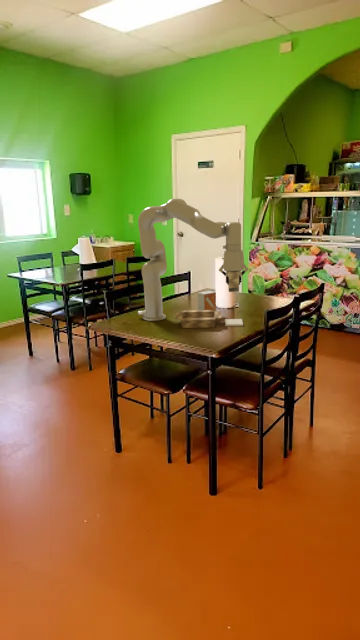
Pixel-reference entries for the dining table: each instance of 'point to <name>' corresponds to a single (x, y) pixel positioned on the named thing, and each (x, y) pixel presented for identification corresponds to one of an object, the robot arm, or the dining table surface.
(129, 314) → the dining table surface
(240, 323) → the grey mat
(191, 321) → the brown wooden tray
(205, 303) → the small box
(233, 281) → the block
